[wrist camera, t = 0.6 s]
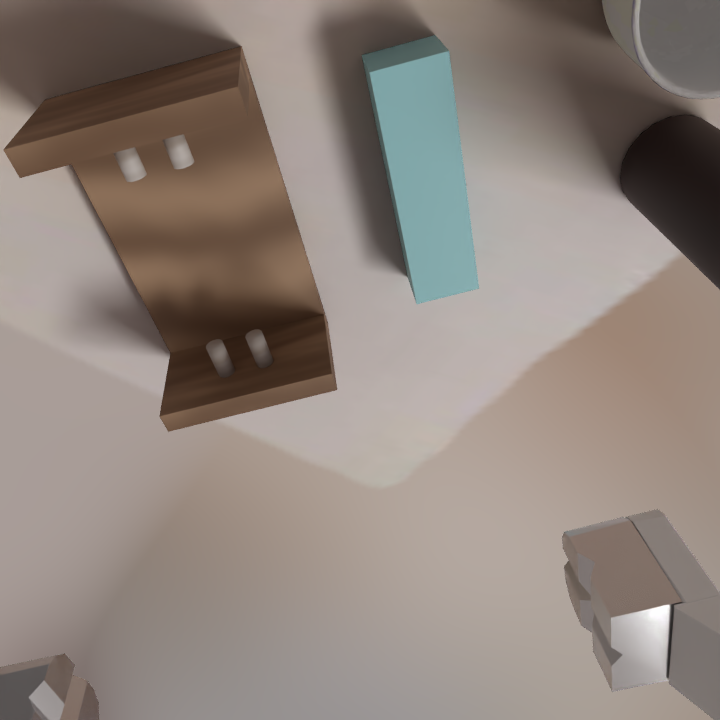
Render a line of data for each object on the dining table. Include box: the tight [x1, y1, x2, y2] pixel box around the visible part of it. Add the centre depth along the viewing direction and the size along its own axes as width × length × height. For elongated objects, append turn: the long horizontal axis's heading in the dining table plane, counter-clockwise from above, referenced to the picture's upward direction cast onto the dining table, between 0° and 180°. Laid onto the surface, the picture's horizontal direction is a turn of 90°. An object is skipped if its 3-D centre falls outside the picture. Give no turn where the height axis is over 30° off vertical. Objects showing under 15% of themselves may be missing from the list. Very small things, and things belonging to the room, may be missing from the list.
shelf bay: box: [4, 46, 337, 431], centre depth 41 cm, size 20×12×8 cm, turn 12°
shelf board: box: [362, 35, 479, 304], centre depth 43 cm, size 16×4×4 cm, turn 13°
